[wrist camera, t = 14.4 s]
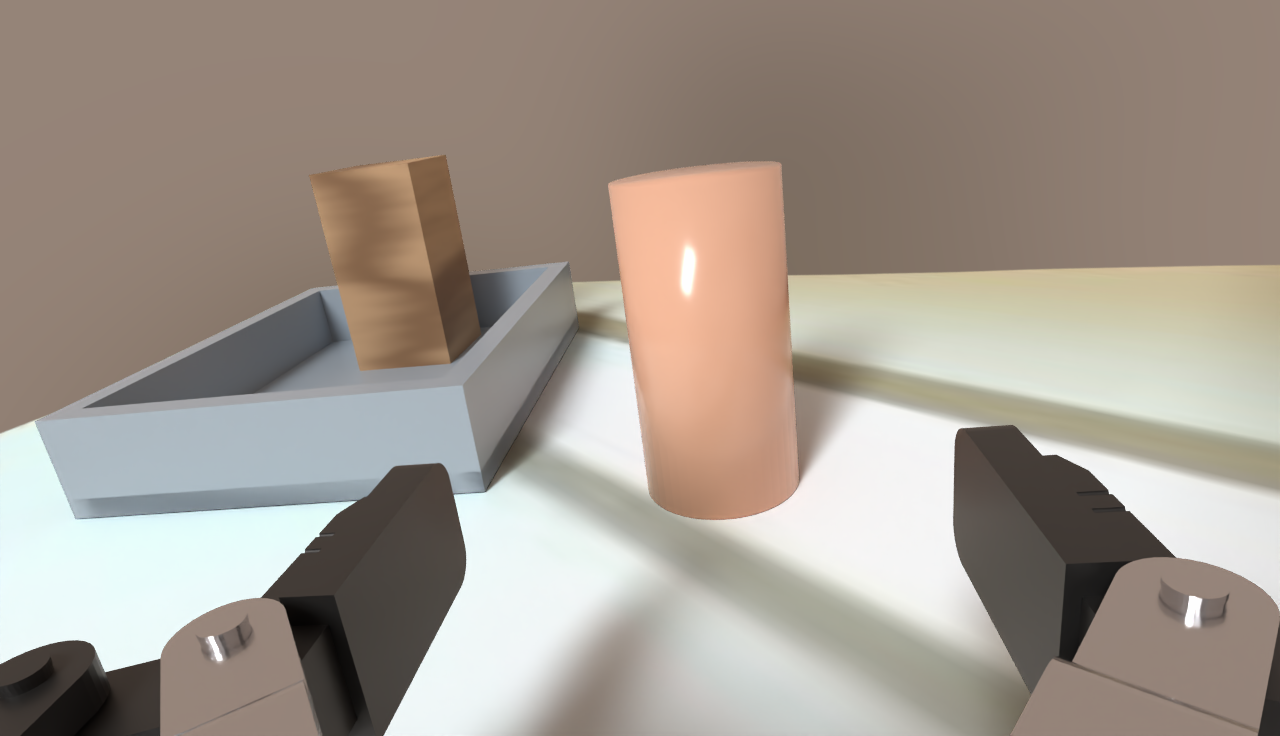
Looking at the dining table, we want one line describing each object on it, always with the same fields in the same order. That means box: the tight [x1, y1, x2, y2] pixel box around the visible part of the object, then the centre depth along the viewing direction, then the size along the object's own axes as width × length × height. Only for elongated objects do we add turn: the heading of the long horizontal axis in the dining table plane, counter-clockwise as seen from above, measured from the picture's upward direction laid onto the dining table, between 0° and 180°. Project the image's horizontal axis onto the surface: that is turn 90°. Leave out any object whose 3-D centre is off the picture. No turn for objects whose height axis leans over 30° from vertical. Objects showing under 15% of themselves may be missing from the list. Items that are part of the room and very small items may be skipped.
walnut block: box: [309, 155, 481, 371], centre depth 40 cm, size 5×5×10 cm
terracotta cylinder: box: [608, 161, 799, 520], centre depth 23 cm, size 5×5×10 cm
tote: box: [35, 262, 579, 519], centre depth 36 cm, size 20×16×4 cm
